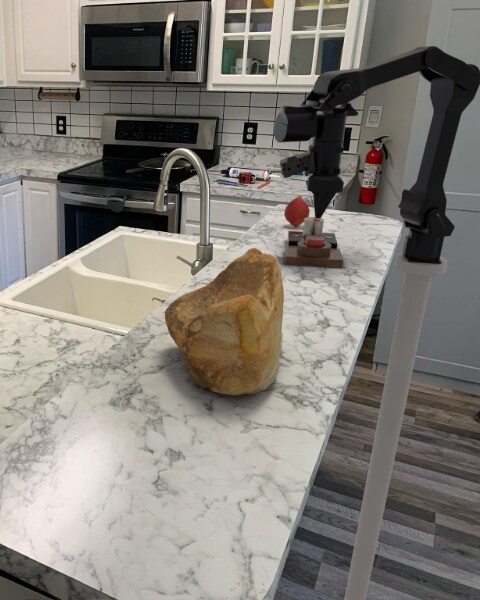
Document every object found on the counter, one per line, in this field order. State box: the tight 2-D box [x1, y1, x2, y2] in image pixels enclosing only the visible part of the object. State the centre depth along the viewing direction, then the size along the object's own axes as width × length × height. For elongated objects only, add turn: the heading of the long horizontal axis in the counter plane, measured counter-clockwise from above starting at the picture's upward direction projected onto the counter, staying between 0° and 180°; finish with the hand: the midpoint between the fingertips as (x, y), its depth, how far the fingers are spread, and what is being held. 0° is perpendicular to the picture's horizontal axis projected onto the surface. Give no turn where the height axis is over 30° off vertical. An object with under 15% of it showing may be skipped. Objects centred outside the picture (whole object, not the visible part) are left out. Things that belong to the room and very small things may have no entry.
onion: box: [284, 194, 310, 228], centre depth 151 cm, size 6×6×8 cm
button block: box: [284, 240, 344, 269], centre depth 128 cm, size 11×8×4 cm
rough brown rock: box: [164, 247, 285, 396], centre depth 86 cm, size 23×17×15 cm
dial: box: [302, 216, 325, 238], centre depth 135 cm, size 4×4×4 cm
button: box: [305, 236, 324, 247], centre depth 127 cm, size 4×4×2 cm
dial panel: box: [286, 230, 338, 248], centre depth 136 cm, size 10×8×3 cm
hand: (317, 218), depth 126 cm, fingers closed
